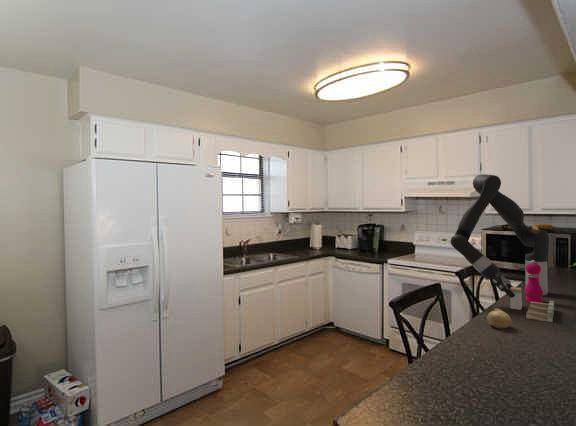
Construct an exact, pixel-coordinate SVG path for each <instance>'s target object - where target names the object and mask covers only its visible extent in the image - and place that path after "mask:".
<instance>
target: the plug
mask: <svg viewBox="0 0 576 426" xmlns="http://www.w3.org/2000/svg"><path fill="white" fill-rule="evenodd" d="M510 290H511V291H512V292H513V293H514V294H515V296H514V297H513V298H510V297H509V301H510V303H509V305H510V309H512V310H519V311H522V308H523V298H522V297H523V296H522V287H517V286H515V287H514V286H513V287H511V288H510Z"/></svg>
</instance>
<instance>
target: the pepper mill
mask: <svg viewBox="0 0 576 426" xmlns="http://www.w3.org/2000/svg"><path fill="white" fill-rule="evenodd" d="M526 271H527V272H528V273H527V276H528V283H527V285H526V284H525V287H524V294H525V301H526V302H528V303H530V302H538V303H543V300H542V299H543V298H542V295H543V291H542V288H541V286H540V284H539V277H540V274H539V273H540V271H541V267H540V266H539V265H538V264H535V261H534V260H532V261H531V263H530V264H528V265H527V266H526Z"/></svg>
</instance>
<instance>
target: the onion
mask: <svg viewBox="0 0 576 426" xmlns="http://www.w3.org/2000/svg"><path fill="white" fill-rule="evenodd" d="M486 319H487V322H488V324H489V325H490V326H492V327H494V328H497V329H499V330H500V329H506V328H509V327H510V326H511V324H512V319H511V317H510V315H509V314H508V313H506V312H505V311H503V310H502V309H501V308H496V307H495V308H494V307H492V311H490V312H489V313H488V314H487V316H486Z"/></svg>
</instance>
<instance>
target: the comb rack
mask: <svg viewBox="0 0 576 426" xmlns="http://www.w3.org/2000/svg"><path fill="white" fill-rule="evenodd" d="M529 304H530V305H529V306H528V309H527V311H526V316H525V317H526V319H529V320H536V321H541V322H548V323H553V320H554V314H555V312H554V311H555V301H554V300H549V302H548V303H544V302H542V303H538V302H529Z"/></svg>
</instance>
